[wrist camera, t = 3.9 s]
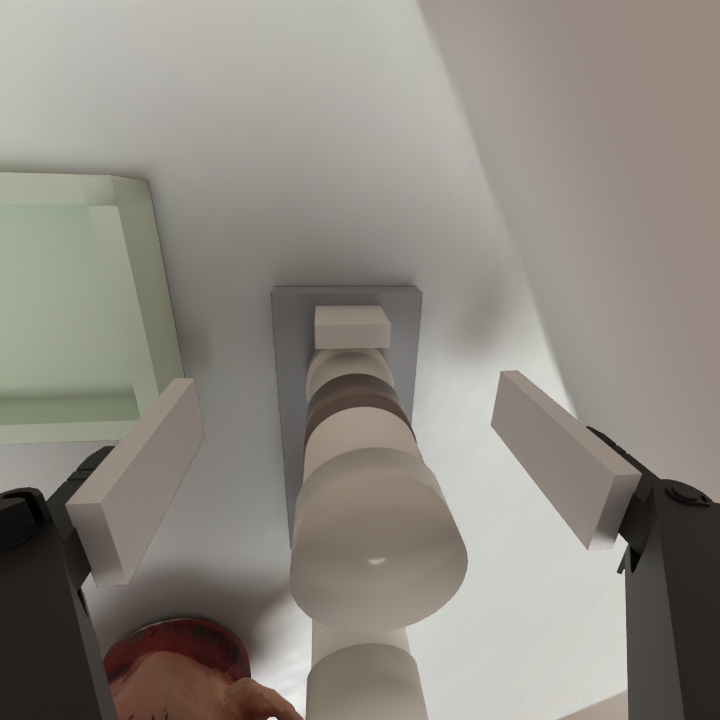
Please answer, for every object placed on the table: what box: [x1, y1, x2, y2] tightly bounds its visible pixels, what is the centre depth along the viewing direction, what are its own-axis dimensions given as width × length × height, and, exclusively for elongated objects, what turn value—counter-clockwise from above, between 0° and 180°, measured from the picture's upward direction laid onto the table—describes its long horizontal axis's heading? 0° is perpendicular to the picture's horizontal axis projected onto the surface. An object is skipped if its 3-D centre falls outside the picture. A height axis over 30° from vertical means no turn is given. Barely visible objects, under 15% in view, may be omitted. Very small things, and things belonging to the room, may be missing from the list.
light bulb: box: [290, 348, 468, 633], centre depth 13 cm, size 4×4×11 cm
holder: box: [271, 286, 428, 720], centre depth 15 cm, size 7×16×12 cm, turn 179°
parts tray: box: [0, 172, 185, 444], centre depth 16 cm, size 13×11×3 cm
